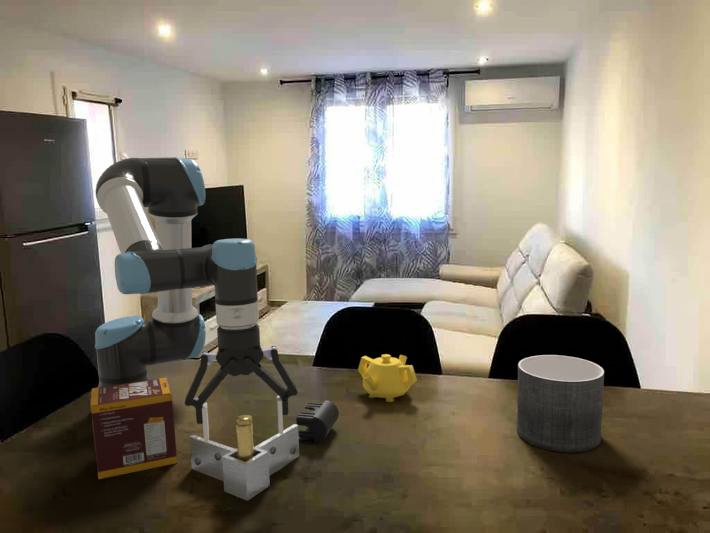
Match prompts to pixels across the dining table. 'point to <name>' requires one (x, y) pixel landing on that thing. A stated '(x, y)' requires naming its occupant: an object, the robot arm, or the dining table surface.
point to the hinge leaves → (249, 474)
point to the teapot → (386, 376)
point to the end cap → (317, 422)
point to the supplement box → (133, 427)
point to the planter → (560, 403)
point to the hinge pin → (244, 437)
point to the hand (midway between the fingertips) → (244, 435)
